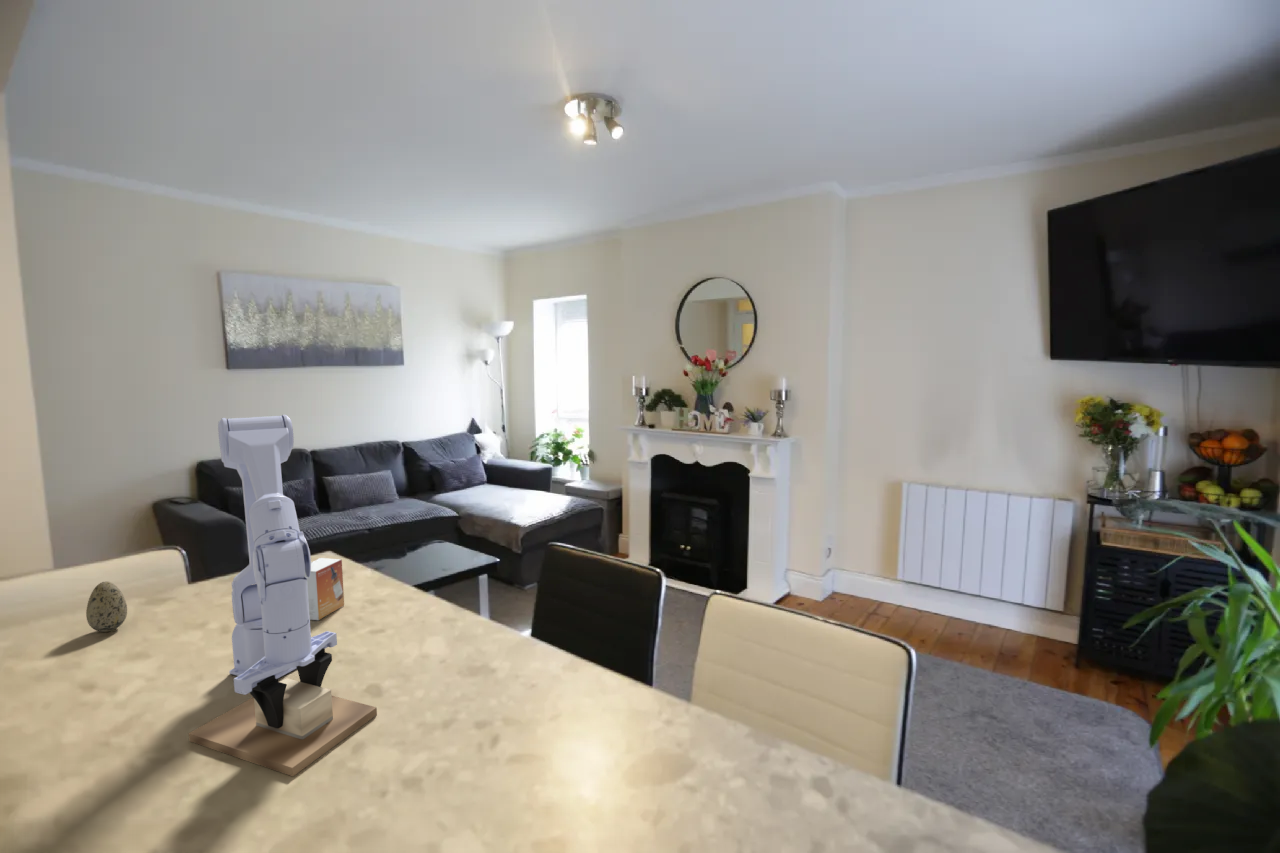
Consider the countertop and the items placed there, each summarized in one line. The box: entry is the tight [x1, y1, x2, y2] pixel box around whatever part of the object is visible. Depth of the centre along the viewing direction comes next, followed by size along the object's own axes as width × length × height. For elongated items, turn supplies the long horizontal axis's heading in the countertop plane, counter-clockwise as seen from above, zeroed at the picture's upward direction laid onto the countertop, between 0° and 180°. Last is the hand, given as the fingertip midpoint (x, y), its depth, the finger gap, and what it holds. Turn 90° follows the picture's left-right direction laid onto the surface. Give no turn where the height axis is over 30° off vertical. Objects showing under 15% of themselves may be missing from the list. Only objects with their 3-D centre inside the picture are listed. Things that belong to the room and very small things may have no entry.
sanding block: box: [254, 677, 333, 740], centre depth 84 cm, size 9×5×4 cm, turn 69°
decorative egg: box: [85, 581, 128, 633], centre depth 115 cm, size 6×6×10 cm
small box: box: [305, 557, 345, 621], centre depth 124 cm, size 8×6×10 cm
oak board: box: [188, 695, 378, 777], centre depth 85 cm, size 20×14×1 cm
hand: (293, 714), depth 84 cm, fingers closed on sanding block, 5 cm apart
